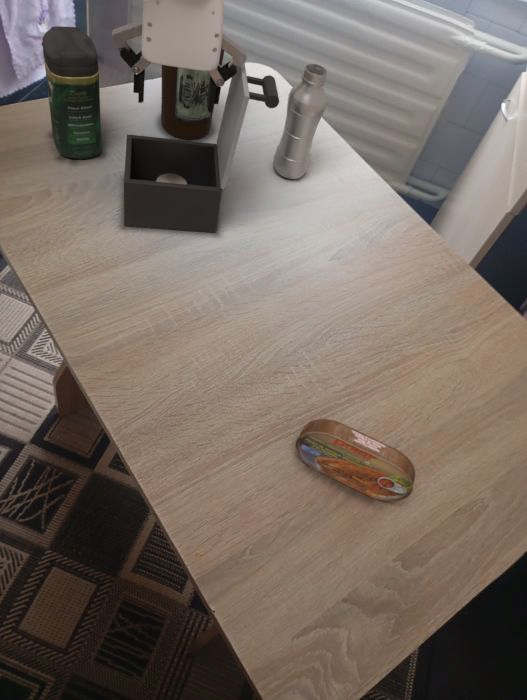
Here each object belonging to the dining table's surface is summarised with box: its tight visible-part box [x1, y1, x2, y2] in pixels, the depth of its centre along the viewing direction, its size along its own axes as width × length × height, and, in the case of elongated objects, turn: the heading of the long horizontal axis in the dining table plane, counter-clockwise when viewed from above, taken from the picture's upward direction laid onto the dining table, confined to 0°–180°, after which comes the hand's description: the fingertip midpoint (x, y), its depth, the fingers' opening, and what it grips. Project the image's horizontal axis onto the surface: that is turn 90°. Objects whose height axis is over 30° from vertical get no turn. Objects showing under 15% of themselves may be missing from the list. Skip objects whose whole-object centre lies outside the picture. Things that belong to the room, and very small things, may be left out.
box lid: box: [216, 61, 280, 190], centre depth 84 cm, size 15×12×6 cm
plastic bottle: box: [273, 63, 328, 180], centre depth 98 cm, size 6×7×20 cm
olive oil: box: [160, 49, 225, 141], centre depth 99 cm, size 11×11×25 cm
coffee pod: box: [156, 173, 187, 184], centre depth 93 cm, size 5×5×4 cm
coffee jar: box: [41, 25, 102, 160], centre depth 92 cm, size 10×8×19 cm
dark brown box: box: [123, 133, 223, 234], centre depth 91 cm, size 15×12×9 cm
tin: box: [295, 418, 416, 502], centre depth 69 cm, size 15×3×8 cm, turn 66°
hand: (175, 102), depth 80 cm, fingers open, 9 cm apart
